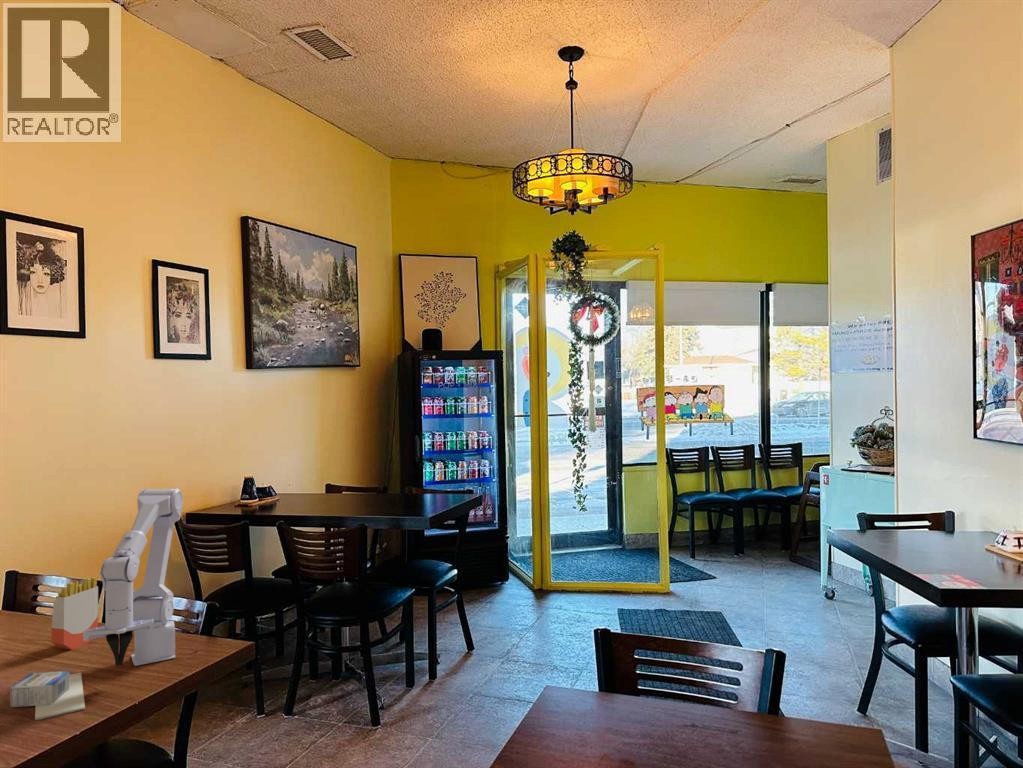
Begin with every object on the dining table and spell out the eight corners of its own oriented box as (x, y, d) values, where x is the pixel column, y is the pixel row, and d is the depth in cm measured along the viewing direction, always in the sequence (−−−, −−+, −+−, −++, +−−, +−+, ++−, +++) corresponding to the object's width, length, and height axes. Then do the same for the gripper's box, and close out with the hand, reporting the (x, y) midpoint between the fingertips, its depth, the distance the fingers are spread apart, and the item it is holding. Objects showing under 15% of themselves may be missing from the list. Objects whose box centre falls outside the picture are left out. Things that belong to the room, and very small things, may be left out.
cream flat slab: (81, 674, 167) (81, 672, 167) (85, 709, 148) (85, 707, 148) (36, 683, 161) (36, 681, 161) (35, 720, 143) (35, 718, 143)
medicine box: (52, 685, 150) (9, 687, 149) (52, 705, 150) (9, 707, 149) (70, 670, 158) (29, 672, 156) (69, 689, 158) (28, 691, 156)
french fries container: (50, 651, 181) (50, 584, 181) (84, 637, 192) (85, 573, 192) (63, 653, 180) (64, 585, 180) (97, 638, 191) (98, 575, 191)
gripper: (84, 617, 154) (83, 677, 153) (155, 606, 162) (155, 663, 162) (82, 609, 159) (82, 667, 159) (152, 598, 168) (151, 653, 167)
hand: (119, 664), depth 161 cm, fingers closed
